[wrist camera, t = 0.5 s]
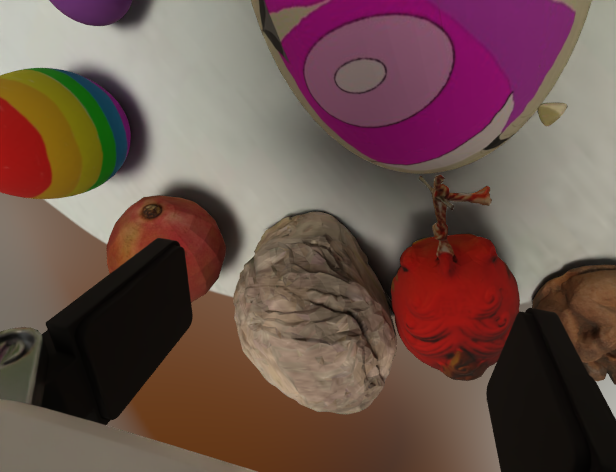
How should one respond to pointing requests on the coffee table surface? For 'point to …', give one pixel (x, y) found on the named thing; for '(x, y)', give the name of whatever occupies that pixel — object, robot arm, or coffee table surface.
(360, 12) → the toy
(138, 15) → the coffee table surface
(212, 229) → the fruit
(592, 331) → the artifact
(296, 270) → the rock
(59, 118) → the decorative egg
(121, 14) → the purple ball
